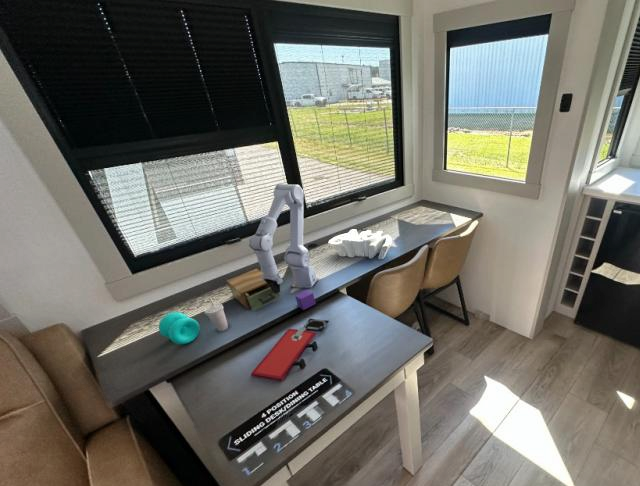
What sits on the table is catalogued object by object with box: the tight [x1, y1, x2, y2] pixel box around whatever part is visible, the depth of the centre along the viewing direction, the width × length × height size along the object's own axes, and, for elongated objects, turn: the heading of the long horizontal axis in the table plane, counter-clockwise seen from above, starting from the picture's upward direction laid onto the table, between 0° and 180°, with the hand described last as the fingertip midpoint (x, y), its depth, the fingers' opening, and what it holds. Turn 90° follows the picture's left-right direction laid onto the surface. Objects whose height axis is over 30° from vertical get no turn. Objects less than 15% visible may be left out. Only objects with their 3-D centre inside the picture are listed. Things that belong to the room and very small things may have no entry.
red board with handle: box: [250, 318, 330, 382], centre depth 109 cm, size 30×3×15 cm
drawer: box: [244, 283, 282, 312], centre depth 134 cm, size 19×12×6 cm, turn 45°
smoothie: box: [203, 296, 229, 332], centre depth 118 cm, size 6×6×14 cm
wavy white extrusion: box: [328, 228, 393, 260], centre depth 167 cm, size 35×16×11 cm, turn 71°
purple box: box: [294, 288, 317, 311], centre depth 130 cm, size 4×6×6 cm
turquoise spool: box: [158, 311, 201, 345], centre depth 115 cm, size 10×10×10 cm
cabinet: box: [226, 268, 267, 310], centre depth 138 cm, size 16×14×8 cm
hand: (277, 292), depth 132 cm, fingers closed
